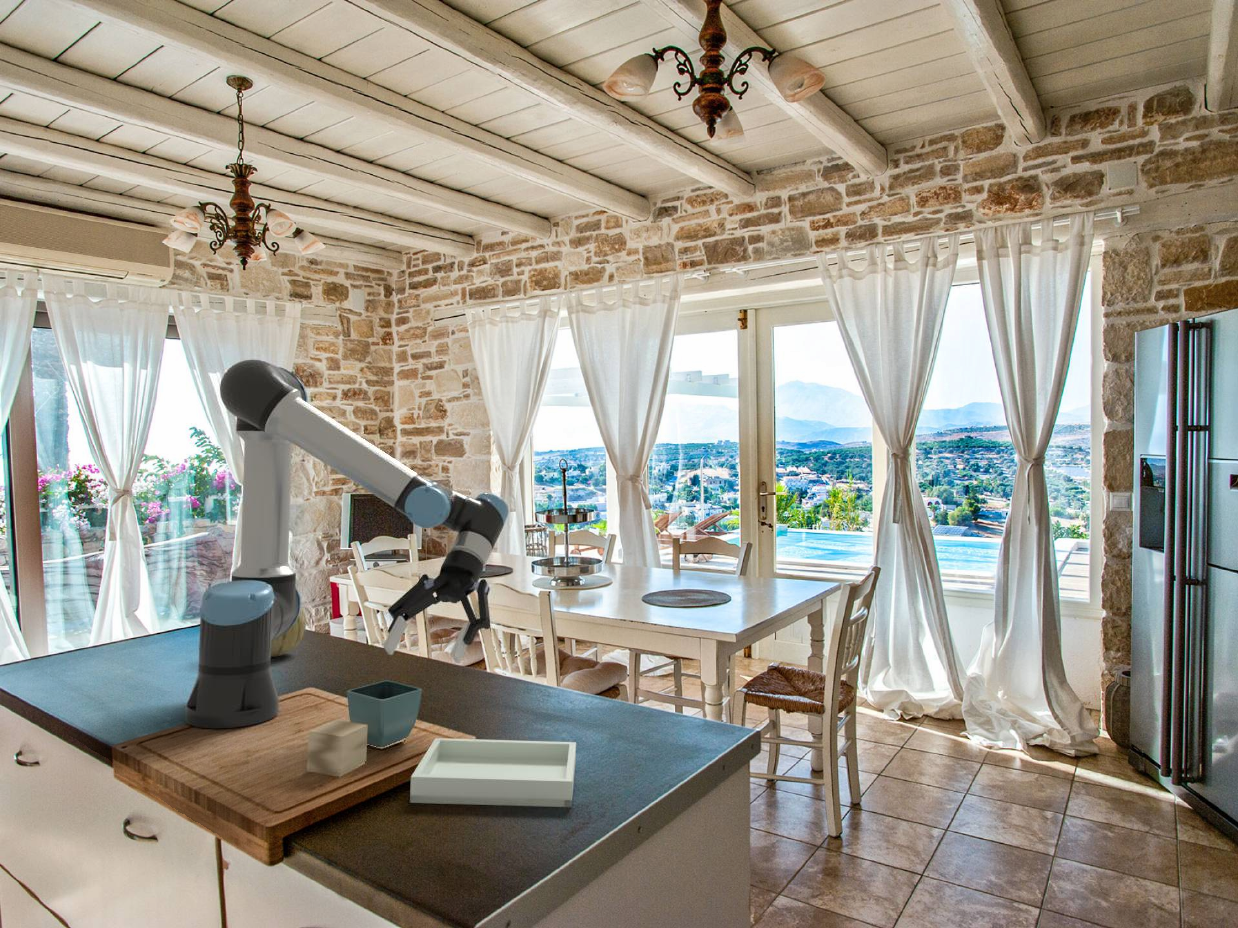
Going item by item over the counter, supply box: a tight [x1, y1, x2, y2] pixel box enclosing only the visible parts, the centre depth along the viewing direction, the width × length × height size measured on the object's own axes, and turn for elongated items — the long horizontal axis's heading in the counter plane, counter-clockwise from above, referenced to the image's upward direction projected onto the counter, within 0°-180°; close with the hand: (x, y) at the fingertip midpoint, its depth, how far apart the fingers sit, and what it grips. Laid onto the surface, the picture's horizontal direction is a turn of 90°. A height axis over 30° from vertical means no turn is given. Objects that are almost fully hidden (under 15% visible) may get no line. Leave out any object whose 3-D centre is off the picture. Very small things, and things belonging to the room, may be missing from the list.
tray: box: [409, 737, 577, 808], centre depth 116 cm, size 22×16×4 cm
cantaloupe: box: [271, 606, 307, 658], centre depth 188 cm, size 15×15×15 cm
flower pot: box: [346, 679, 423, 747], centre depth 131 cm, size 9×9×9 cm
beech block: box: [306, 719, 368, 778], centre depth 120 cm, size 6×6×6 cm
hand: (420, 654), depth 139 cm, fingers open, 13 cm apart
